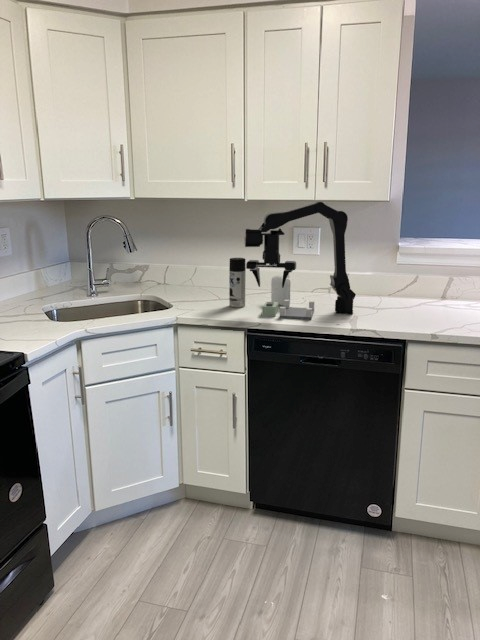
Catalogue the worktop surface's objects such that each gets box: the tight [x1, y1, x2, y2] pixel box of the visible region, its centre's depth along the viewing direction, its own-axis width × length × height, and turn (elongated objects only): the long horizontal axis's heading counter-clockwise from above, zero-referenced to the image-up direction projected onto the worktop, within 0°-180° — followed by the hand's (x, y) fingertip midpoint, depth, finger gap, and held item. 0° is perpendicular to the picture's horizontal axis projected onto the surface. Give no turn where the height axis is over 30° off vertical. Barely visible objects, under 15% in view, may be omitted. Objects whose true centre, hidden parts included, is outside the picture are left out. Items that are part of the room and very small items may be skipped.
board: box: [261, 301, 280, 318], centre depth 203 cm, size 5×9×5 cm, turn 168°
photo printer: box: [270, 274, 291, 307], centre depth 219 cm, size 10×4×12 cm, turn 29°
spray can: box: [228, 257, 246, 309], centre depth 213 cm, size 7×7×20 cm
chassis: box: [278, 299, 315, 321], centre depth 202 cm, size 12×15×4 cm
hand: (271, 287), depth 201 cm, fingers open, 9 cm apart
